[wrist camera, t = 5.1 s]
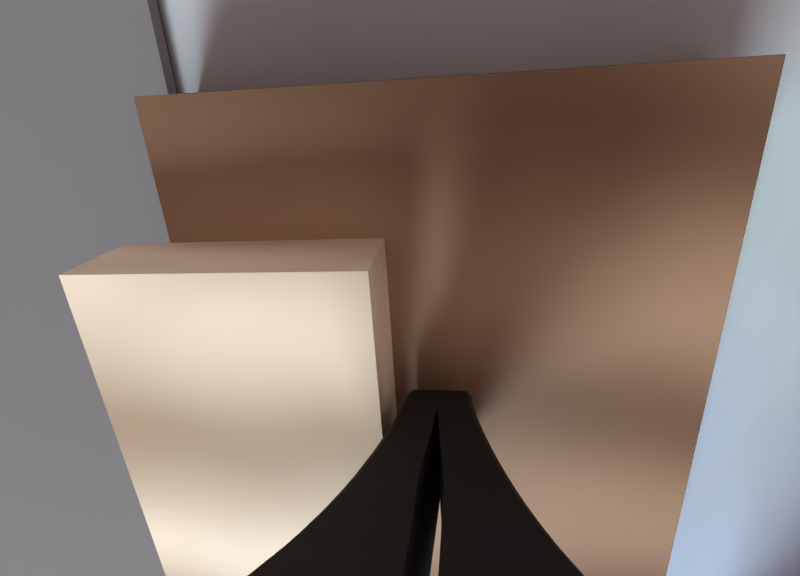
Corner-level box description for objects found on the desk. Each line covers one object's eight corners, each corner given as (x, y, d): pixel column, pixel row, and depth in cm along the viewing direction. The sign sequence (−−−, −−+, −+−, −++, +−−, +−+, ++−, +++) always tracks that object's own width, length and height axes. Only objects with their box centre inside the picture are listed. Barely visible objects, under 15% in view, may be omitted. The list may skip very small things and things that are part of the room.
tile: (406, 540, 13) (397, 611, 12) (208, 528, 14) (172, 593, 12) (384, 238, 10) (367, 270, 8) (125, 243, 11) (58, 275, 9)
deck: (622, 571, 16) (648, 649, 14) (289, 549, 18) (265, 617, 16) (712, 61, 10) (786, 53, 8) (196, 95, 12) (133, 96, 10)
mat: (288, 601, 19) (285, 611, 19) (-15, 577, 21) (-24, 586, 21) (146, -47, 11) (135, -51, 10) (-342, 6, 12) (-366, 3, 12)
